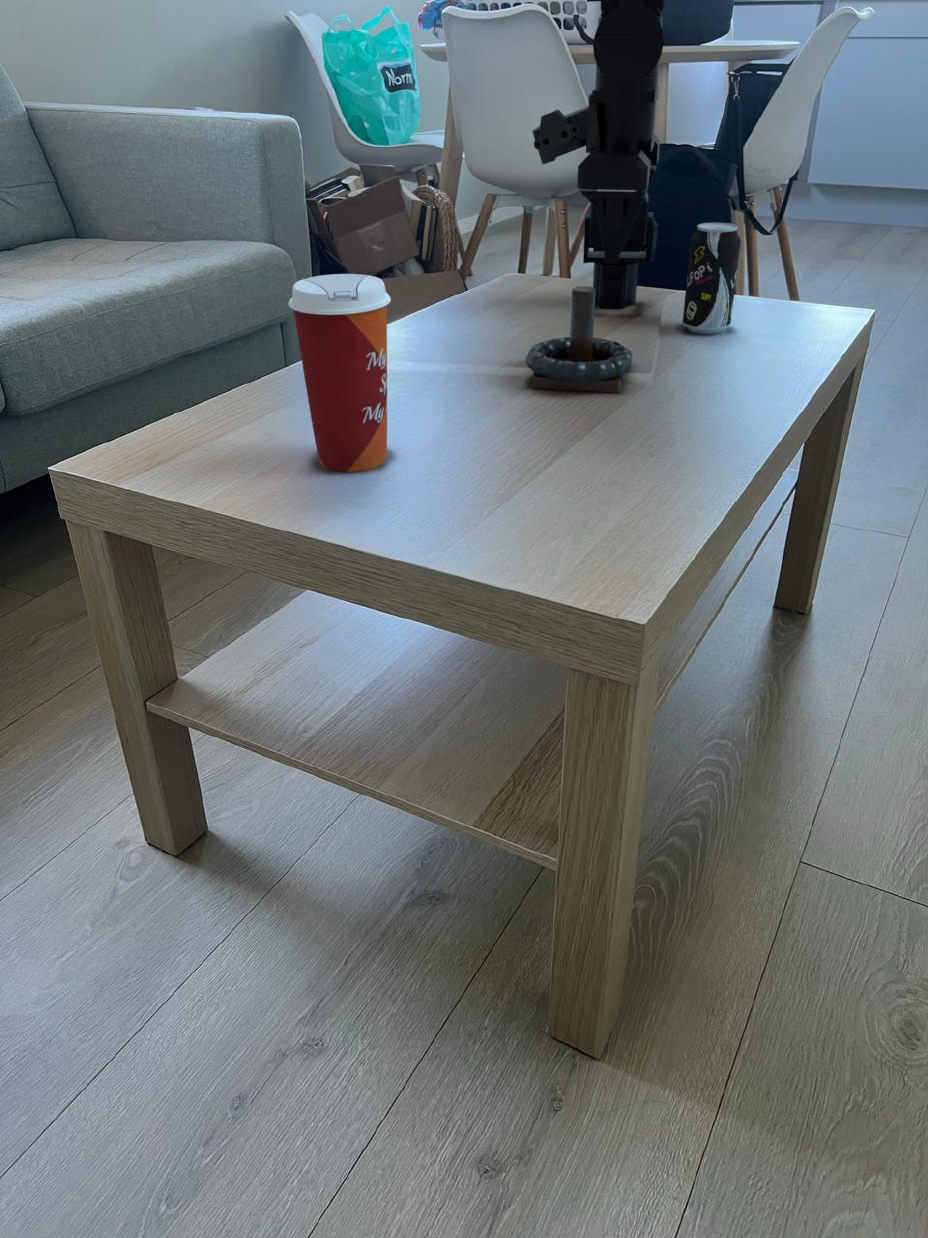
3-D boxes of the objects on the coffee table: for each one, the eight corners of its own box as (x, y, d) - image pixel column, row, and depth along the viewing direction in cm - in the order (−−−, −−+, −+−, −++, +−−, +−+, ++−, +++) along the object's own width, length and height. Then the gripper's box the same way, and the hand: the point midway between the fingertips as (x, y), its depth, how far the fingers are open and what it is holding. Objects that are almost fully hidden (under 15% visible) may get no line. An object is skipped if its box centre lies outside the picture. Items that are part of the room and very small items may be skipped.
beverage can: (730, 336, 115) (743, 230, 108) (681, 334, 116) (692, 229, 110) (729, 324, 120) (741, 221, 113) (682, 322, 121) (692, 220, 114)
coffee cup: (406, 472, 82) (397, 291, 74) (309, 481, 80) (289, 298, 73) (392, 437, 89) (382, 268, 81) (302, 445, 87) (283, 274, 80)
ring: (535, 350, 107) (535, 332, 106) (634, 355, 105) (636, 336, 104) (518, 381, 98) (518, 362, 97) (626, 387, 96) (628, 367, 95)
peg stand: (544, 362, 107) (546, 277, 103) (625, 366, 106) (631, 280, 101) (531, 388, 100) (533, 297, 95) (618, 392, 98) (624, 301, 93)
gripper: (555, 69, 98) (551, 231, 106) (522, 84, 83) (520, 272, 91) (666, 68, 95) (652, 234, 104) (653, 83, 80) (639, 276, 89)
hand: (615, 252), depth 97 cm, fingers open, 9 cm apart
